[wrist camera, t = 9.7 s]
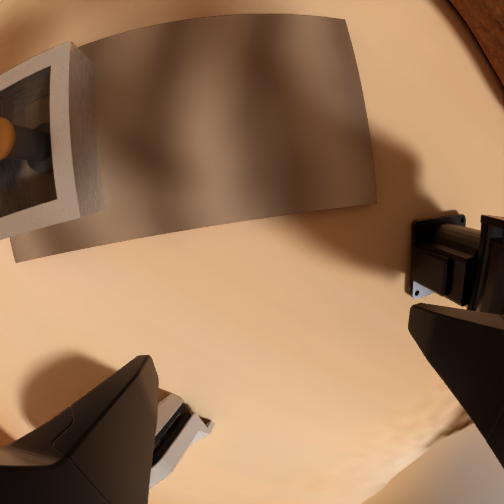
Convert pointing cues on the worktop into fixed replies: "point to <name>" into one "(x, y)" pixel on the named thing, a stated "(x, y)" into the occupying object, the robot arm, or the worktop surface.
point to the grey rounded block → (174, 436)
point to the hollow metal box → (53, 140)
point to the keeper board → (209, 129)
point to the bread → (486, 28)
